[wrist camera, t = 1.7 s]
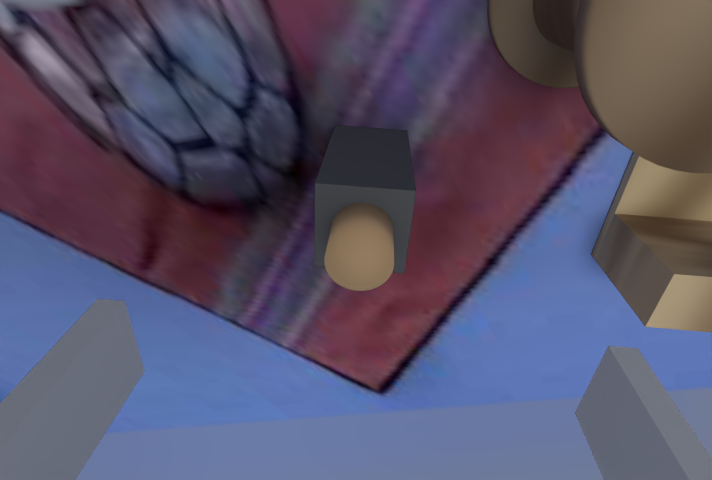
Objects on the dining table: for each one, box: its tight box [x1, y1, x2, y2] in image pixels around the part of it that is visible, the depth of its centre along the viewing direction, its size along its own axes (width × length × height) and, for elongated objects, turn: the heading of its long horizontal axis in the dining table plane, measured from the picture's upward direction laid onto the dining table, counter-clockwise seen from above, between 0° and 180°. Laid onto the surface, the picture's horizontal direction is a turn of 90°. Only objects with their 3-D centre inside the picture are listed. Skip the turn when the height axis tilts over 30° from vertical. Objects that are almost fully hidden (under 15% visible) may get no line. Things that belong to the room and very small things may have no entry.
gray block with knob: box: [314, 125, 416, 291], centre depth 20 cm, size 4×4×10 cm
